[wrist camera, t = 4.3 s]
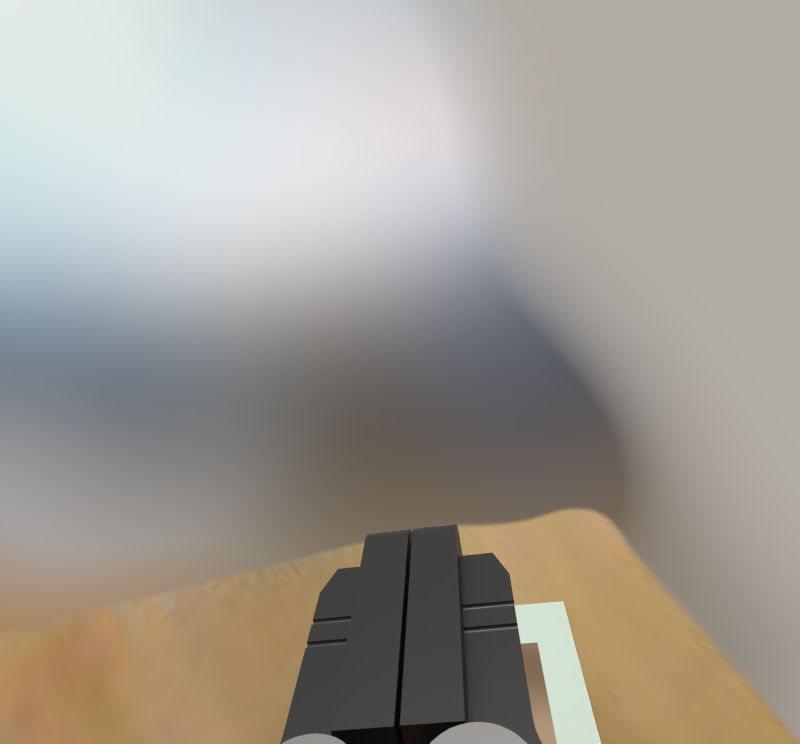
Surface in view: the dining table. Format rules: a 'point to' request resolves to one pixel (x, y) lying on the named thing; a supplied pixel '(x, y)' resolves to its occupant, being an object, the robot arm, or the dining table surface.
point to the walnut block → (538, 693)
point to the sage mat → (559, 671)
